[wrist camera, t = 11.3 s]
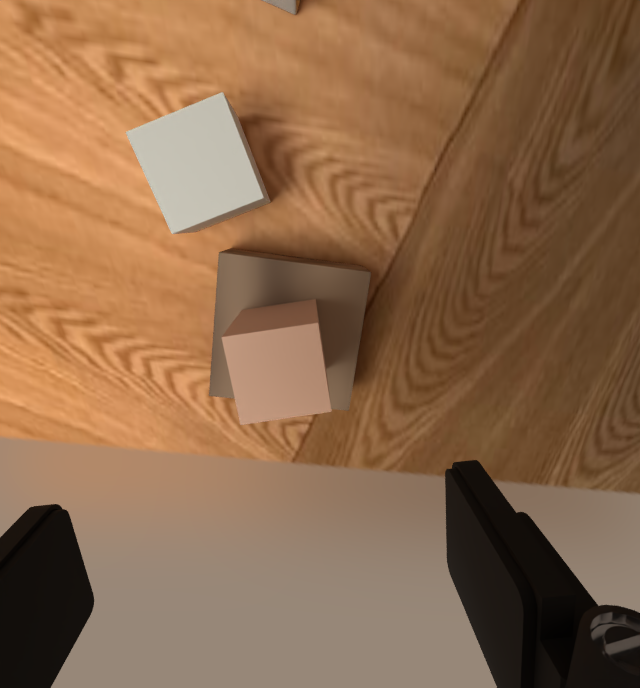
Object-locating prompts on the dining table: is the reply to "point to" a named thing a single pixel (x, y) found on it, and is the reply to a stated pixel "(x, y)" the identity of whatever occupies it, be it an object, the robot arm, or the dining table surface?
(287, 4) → the small box
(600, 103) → the dining table surface
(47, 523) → the robot arm
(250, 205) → the grey cube
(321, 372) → the terracotta block
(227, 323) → the walnut block
